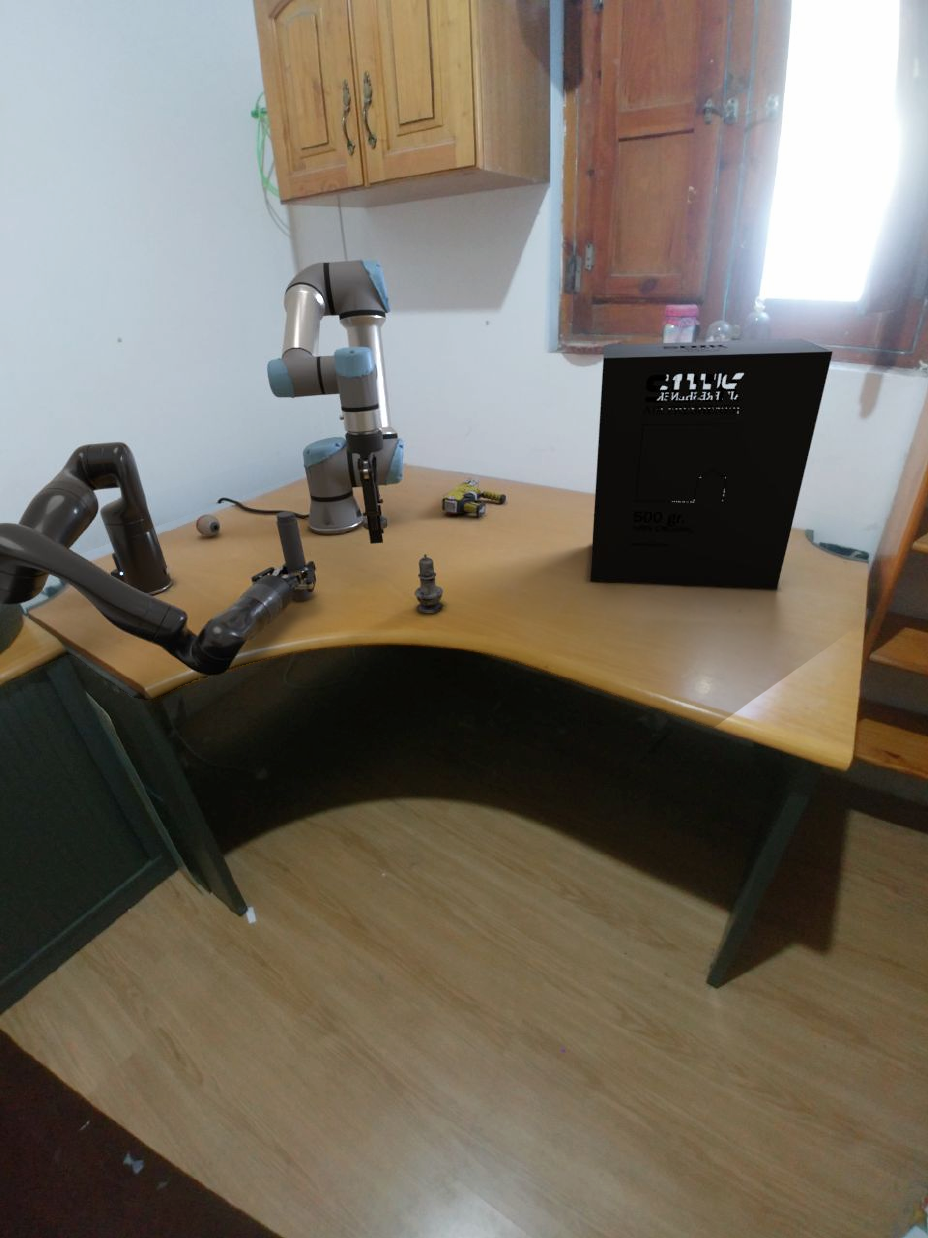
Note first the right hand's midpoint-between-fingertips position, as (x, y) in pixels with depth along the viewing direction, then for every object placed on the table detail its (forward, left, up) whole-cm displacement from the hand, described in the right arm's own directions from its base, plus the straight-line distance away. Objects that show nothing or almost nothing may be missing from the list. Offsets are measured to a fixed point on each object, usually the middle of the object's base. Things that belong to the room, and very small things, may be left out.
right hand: (377, 537), depth 134 cm
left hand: (-5, -16, -3) cm, 17 cm away
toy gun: (-24, +46, -10) cm, 53 cm away
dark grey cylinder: (-3, -18, -10) cm, 21 cm away
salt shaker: (+19, 0, -10) cm, 22 cm away
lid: (0, 0, +4) cm, 4 cm away
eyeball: (-56, -23, -10) cm, 61 cm away
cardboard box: (+40, +53, -10) cm, 68 cm away
